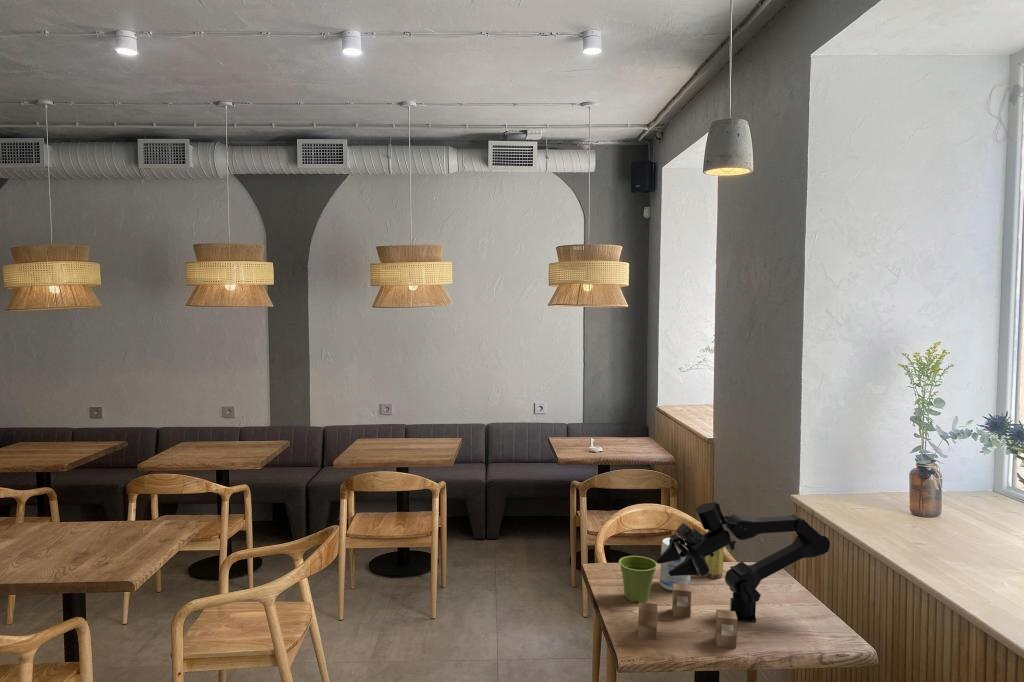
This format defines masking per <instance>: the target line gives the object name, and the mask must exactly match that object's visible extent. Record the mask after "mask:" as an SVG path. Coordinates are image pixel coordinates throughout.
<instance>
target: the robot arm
mask: <svg viewBox="0 0 1024 682" xmlns="http://www.w3.org/2000/svg"><path fill="white" fill-rule="evenodd" d="M695 513H696V515H697V517H698V519H699V522H700V524H701V526H702V528H703V530H707V532H705V533H703V534H702V533H701V532H700V531H699V530H697V528H694V529H692V528H690V527H689V526H688V525H687V524H686V523H684V522H682V523H681V524H680V525H679V526H678V527H677V528H676V530H675V531H676V532H677V533H679V534H680V535H679V534H677V533H674V534H671V535H670V536H669V538H670V540H669V542H670V543H669V547H668V548H667V550H666V551H665V552H664V553H663V554H662V555H661V554H660V556H659V557H658V558H657V559H656V563H657V565H658V564H660V565H661V563H666V562H670V561H675V560H679V559H681V558H680V557H685V556H686V558H685V560H684V562H682V563H681V564H679V565H678V566H676V567H675V568H673V569H672V570H671V571H669V575H670V576H680V575H690V576H697V577H699V576H701V578H703V577H706V576H705V575H707V574H708V572H709V567H708V565H707V563H706V561H705V557H706V556H708V555H709V556H710V557H713V556H714V554H713V553H714V552H715V551H717V550H719V549H721V548H723V547H724V548H725V547H727V548H729V549H730V550H731V551H734V550H735V545H736V542H737V541H736V540H734V539H733V538H732V537H731V535H732V536H733V537H735V538H736V539H737V540H740V541H745V540H748V539H753V538H756V536H758V535H761V534H775V533H787V532H788V533H790V532H794V533H795V534H796V535H797V536H796V538H795V539H794V540H793V542H792V543H791V544H789V545H787V546H785V547H783V548H782V549H779V550H778V551H776V552H774V553H772V554H770V555H768V556H766V557H764V558H762V559H760V560H759V561H757V562H755V563H753V564H747V563H745V562H744V561H740V562H738V563H736V564H735V565H732V566H729V568H730V569H727V571H726V572H725V576H724V581H725V583H726V585H727V586H728V587H729V589H730V592H732V597H730V600H729V602H730V603H729V604H730V605H729V611H735V612H736V616H737V619H738V620H737V621H745V622H754V623H755V622H757V617H756V609H757V608H756V606H757V605H756V604H757V602H759V601H760V599H761V597H762V596H761V593H760V592H759V591H758V590H757V588H758V586H759V585H760V583H761V581H762V580H764V579H766V578H768V577H770V576H771V575H774V574H776V573H778V572H780V571H782V570H783V569H785V568H787V567H789V566H790V565H792V564H794V563H796V562H798V561H800V560H802V559H811V558H816V557H820V556H823V555H826V554H827V553H828V552H829V550H830V547H831V543H830V540H829V538H828V537H827V536H826V535H824V534H822V533H821V532H818V531H817V530H816V529H814V527H812V526H811V525H809V523H808V522H807V521H806V520H805V519H804V518H802V517H800V516H798V515H796V514H792V515H785V516H784V515H783V516H782V515H781V516H768V517H766V516H765V517H764V516H763V517H752V516H748V515H742V514H730V515H729V516H728V515H724V514H723V513H722V510H721V506H720V503H719V502H717V501H713V502H705V503H702V504H700V505H698V506H697V507H696V509H695ZM724 527H725V528H724ZM708 530H709V532H708ZM730 534H731V535H730ZM683 539H684V540H683ZM685 543H686V544H685ZM724 548H723V549H724Z"/></svg>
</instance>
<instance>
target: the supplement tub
mask: <svg viewBox="0 0 1024 682" xmlns="http://www.w3.org/2000/svg"><path fill="white" fill-rule="evenodd" d="M684 539H685V538H683V540H684ZM669 540H670V537H666V538H663V539H662V541H661V542H662V543H661V549H660V551H661V552H660V556H661V555H662V554H663V553H664V552H665V551H666V550H667V548H668V547H669V543H670V542H669ZM685 544H686V543H685ZM680 558H681V559H679V560H675V561H670V562H666V563H660V569H659V570H660V571H659V584H660V586H661V587H662V588H663V589H666V590H668V591H671V592H673V583H677V584H688V585H690V586H691V575H680V576H670V575H669V571H671V570H672V569H673V568H675V567H676V566H678V565H679V564H681V563H682V562H684V560H685V558H686V556H685V557H680Z"/></svg>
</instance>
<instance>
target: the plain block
mask: <svg viewBox="0 0 1024 682" xmlns="http://www.w3.org/2000/svg"><path fill="white" fill-rule="evenodd" d="M637 619H638V621H637V639H644V640H653V641H656V640H658V639H657V637H658V636H657V633H658V603H652V602H638V618H637Z"/></svg>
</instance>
